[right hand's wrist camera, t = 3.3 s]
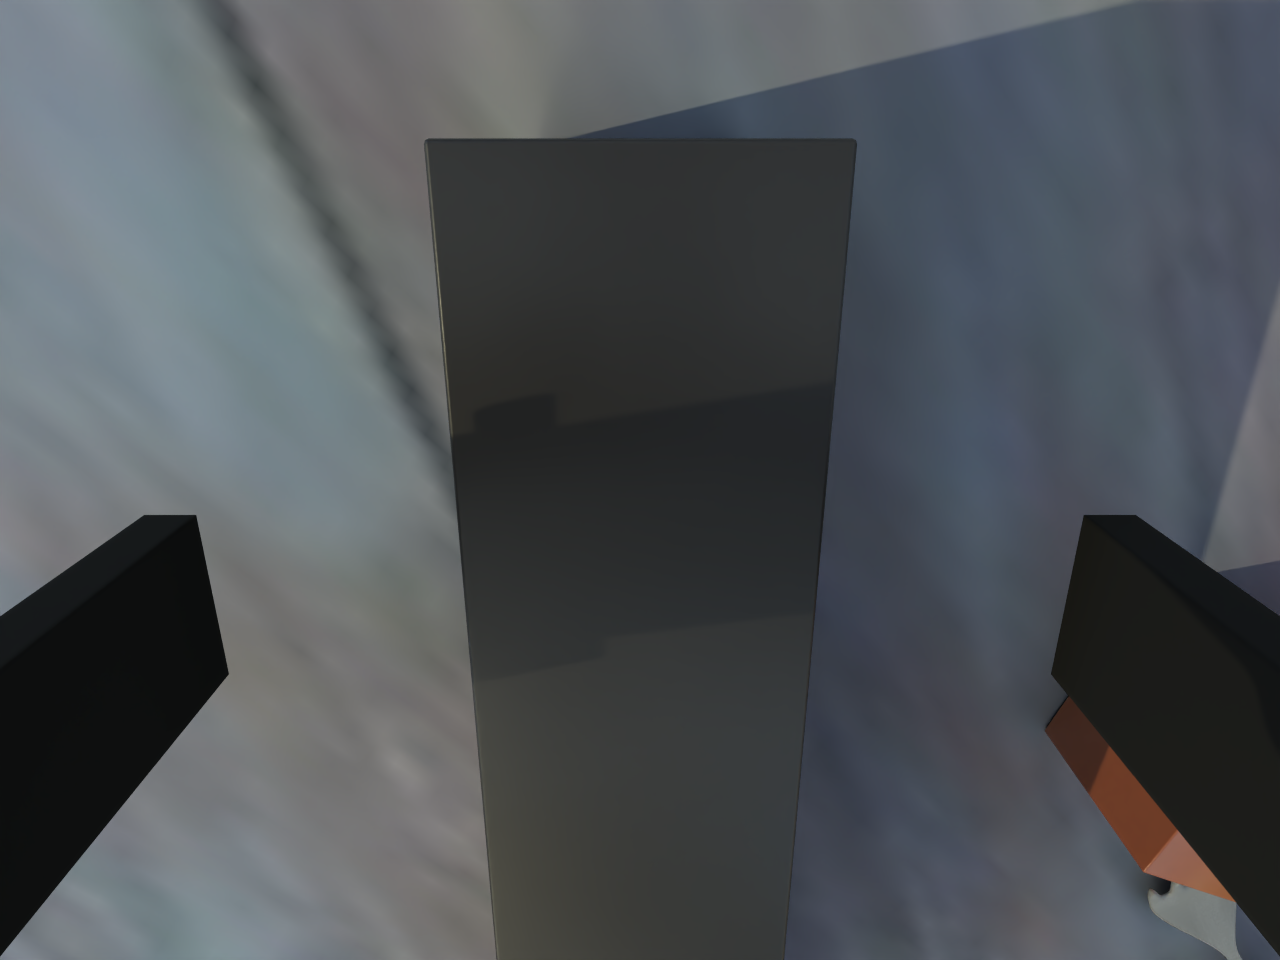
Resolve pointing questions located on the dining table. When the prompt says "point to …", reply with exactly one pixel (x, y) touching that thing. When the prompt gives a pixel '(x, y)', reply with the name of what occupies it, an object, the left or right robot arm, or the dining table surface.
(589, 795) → the bar
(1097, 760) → the terracotta block
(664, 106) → the dining table surface
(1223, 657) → the right robot arm
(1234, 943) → the fork
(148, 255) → the dining table surface
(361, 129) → the dining table surface
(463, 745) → the dining table surface
